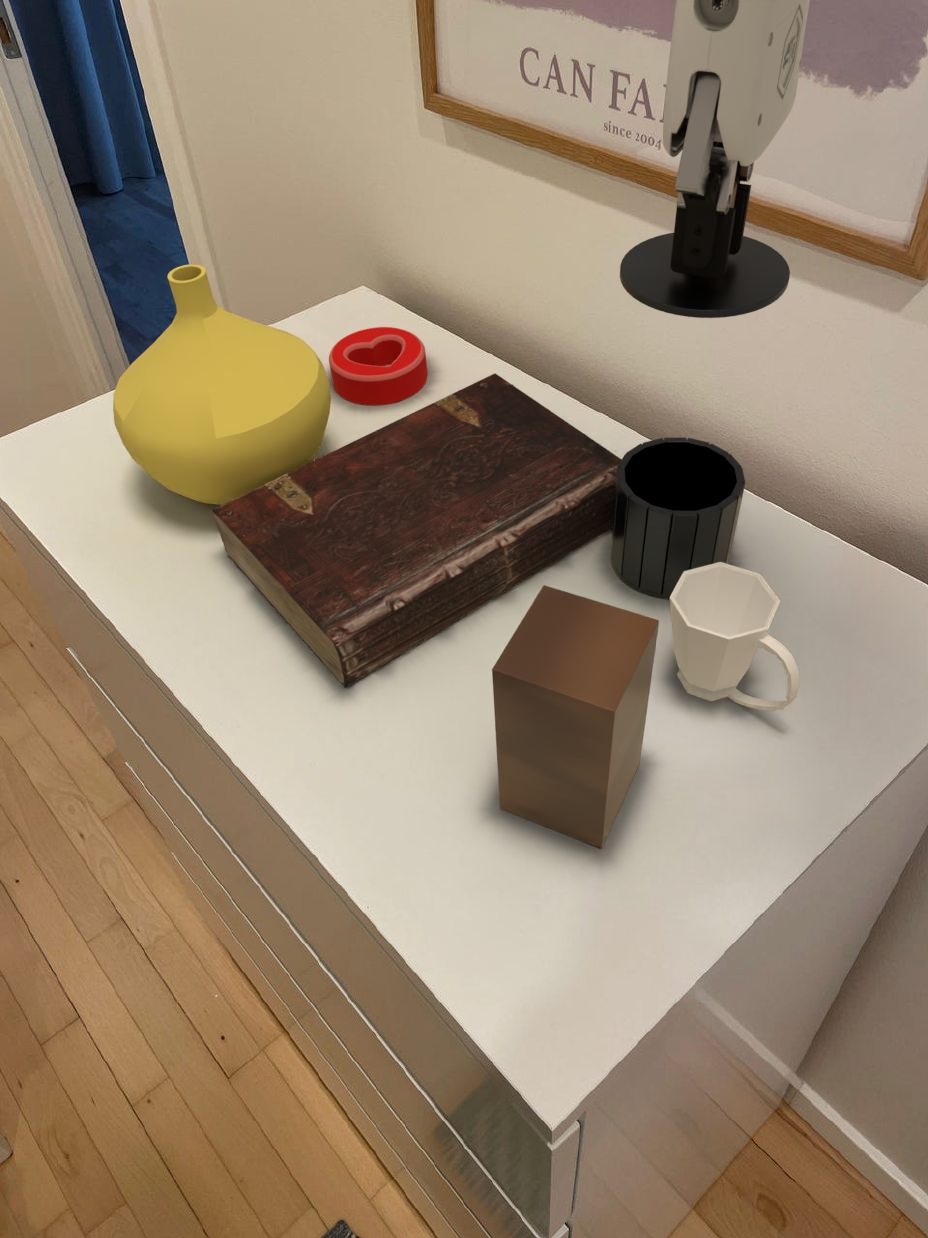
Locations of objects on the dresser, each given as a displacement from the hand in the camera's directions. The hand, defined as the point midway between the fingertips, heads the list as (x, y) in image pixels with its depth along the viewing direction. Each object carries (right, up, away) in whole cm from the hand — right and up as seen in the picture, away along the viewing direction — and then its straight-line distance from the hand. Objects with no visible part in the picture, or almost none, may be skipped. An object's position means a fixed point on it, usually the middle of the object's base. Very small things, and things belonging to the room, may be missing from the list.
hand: (705, 258), depth 56 cm
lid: (0, -1, +1) cm, 1 cm away
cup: (+4, -27, +10) cm, 29 cm away
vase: (-35, -8, +31) cm, 47 cm away
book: (-17, -15, +23) cm, 32 cm away
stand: (-7, -32, +5) cm, 34 cm away
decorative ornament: (-23, +3, +40) cm, 46 cm away
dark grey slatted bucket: (+2, -17, +19) cm, 25 cm away
